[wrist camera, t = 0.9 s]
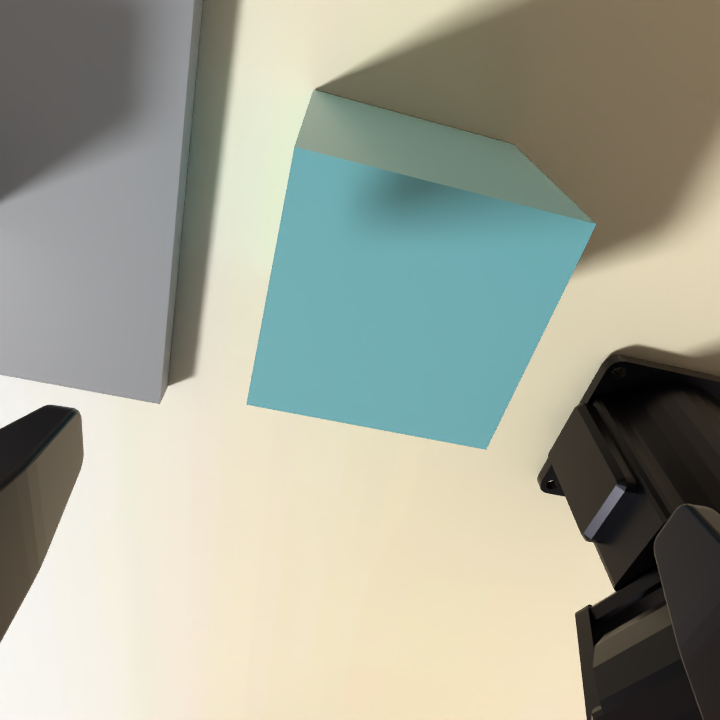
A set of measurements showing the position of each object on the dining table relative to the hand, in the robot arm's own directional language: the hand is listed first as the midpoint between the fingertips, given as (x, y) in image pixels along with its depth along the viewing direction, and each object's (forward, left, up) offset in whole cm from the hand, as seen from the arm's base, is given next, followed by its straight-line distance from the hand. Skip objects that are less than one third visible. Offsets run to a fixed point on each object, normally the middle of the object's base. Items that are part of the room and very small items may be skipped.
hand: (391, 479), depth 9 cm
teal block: (0, 0, -11) cm, 11 cm away
